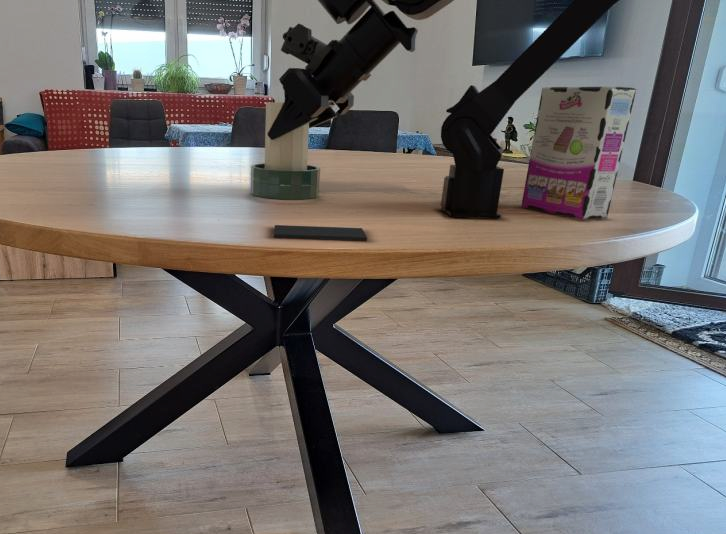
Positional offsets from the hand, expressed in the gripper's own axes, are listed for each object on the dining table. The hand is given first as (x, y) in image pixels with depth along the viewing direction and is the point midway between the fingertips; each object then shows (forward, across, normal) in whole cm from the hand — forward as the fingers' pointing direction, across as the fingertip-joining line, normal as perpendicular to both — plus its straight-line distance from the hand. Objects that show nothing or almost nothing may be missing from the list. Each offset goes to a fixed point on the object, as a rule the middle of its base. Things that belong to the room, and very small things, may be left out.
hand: (277, 136), depth 91 cm
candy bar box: (-22, -8, +34) cm, 42 cm away
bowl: (+5, 0, +7) cm, 9 cm away
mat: (-3, +22, +15) cm, 27 cm away
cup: (+4, 0, +6) cm, 7 cm away
